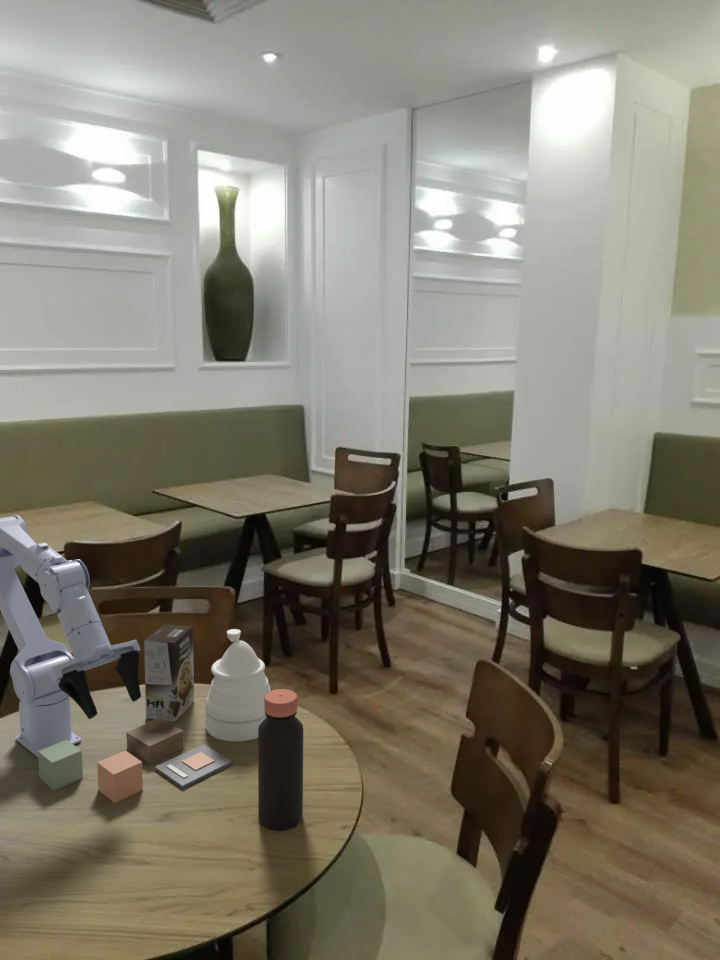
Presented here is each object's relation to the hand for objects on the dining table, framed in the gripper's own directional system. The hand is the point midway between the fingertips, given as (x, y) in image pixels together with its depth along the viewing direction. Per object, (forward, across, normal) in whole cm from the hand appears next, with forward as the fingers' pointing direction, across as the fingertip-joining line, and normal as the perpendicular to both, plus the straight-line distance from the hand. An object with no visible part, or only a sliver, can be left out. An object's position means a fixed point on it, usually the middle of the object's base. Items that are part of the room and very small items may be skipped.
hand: (115, 707), depth 118 cm
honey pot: (+10, +27, +12) cm, 31 cm away
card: (+13, +12, +7) cm, 19 cm away
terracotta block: (+11, 0, +9) cm, 15 cm away
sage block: (+5, -5, +17) cm, 18 cm away
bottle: (+27, +13, -9) cm, 31 cm away
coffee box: (+1, +21, +23) cm, 31 cm away
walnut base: (+7, +11, +15) cm, 20 cm away
